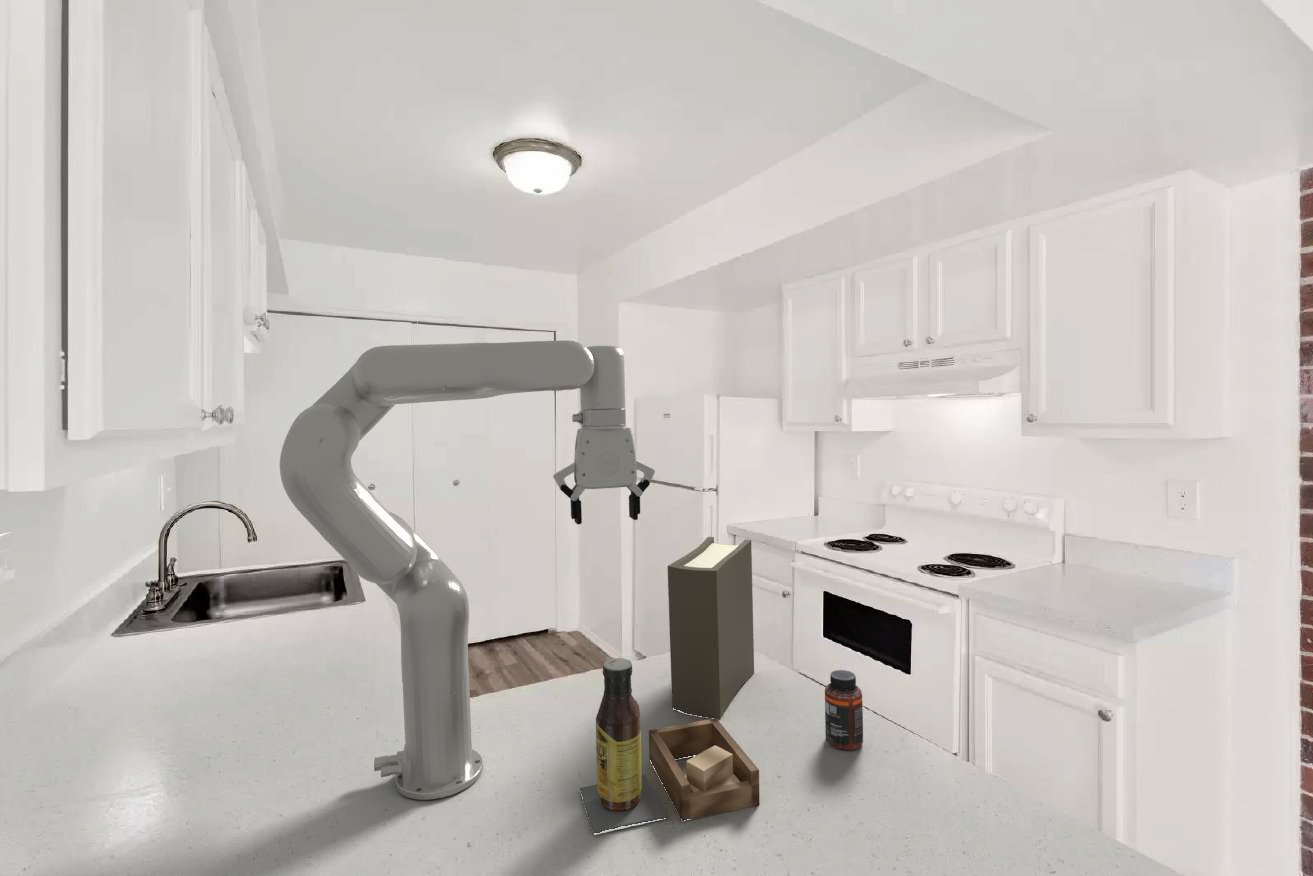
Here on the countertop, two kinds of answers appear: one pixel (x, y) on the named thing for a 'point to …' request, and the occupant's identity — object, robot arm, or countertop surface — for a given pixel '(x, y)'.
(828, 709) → the supplement bottle
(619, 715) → the sauce bottle
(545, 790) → the countertop surface
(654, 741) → the tray
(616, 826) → the mat
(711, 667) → the book
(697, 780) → the offcut top
